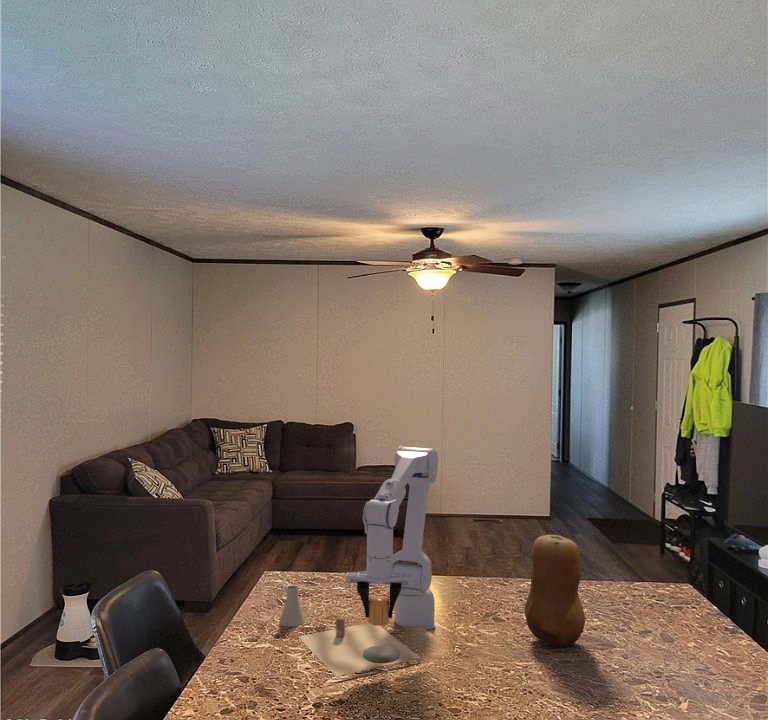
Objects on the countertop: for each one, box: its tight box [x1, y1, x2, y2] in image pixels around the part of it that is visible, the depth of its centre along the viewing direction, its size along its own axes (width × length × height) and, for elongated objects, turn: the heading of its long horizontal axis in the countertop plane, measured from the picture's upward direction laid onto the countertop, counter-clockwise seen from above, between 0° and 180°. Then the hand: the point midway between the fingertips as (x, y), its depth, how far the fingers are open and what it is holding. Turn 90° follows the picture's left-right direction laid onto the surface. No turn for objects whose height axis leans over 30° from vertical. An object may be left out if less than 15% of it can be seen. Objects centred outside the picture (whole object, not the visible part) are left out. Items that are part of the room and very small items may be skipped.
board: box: [297, 616, 421, 685], centre depth 160 cm, size 20×22×6 cm
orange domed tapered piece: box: [368, 595, 390, 627], centre depth 157 cm, size 4×4×5 cm
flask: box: [279, 584, 306, 628], centre depth 174 cm, size 7×7×10 cm
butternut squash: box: [524, 534, 586, 649], centre depth 167 cm, size 14×13×25 cm
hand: (378, 616), depth 157 cm, fingers closed on orange domed tapered piece, 4 cm apart
